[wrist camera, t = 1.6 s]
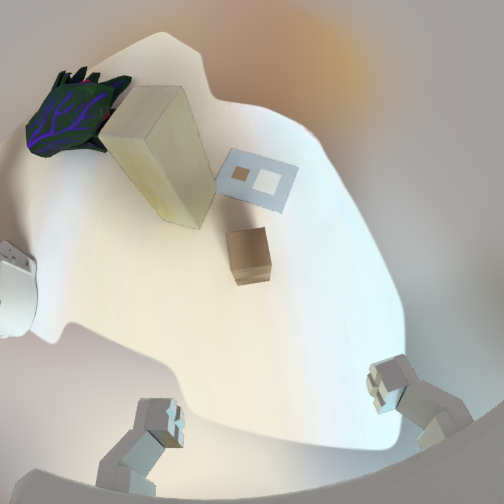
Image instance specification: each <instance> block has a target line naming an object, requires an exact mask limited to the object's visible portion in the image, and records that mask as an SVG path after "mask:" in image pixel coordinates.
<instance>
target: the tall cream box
mask: <svg viewBox="0 0 504 504" xmlns="http://www.w3.org/2000/svg"><path fill="white" fill-rule="evenodd" d="M98 137H99V139H100V140H101V142H102V143H103V144H104V146H105V147H106V148H107V150H108V151H109V152H110V154H111V155H112V156H113V158H114V159H115V160H116V162H117V163H118V164H119V165H120V167H121V168H122V169H123V171H124V172H125V173H126V174H127V176H128V177H129V178H130V179H131V181H132V182H133V183H134V184H135V186H136V187H137V188H138V189H139V191H140V192H141V193H142V194H143V196H144V197H145V198H146V199H147V201H148V202H149V203H150V204H151V206H152V207H153V208H154V209H155V210H156V212H157V213H158V214H159V215H160V217H161V218H162V219H163V220H165V221H168V222H171V223H175V224H179V225H182V226H186V227H190V228H194V229H198V230H199V229H200V228H201V225H202V223H203V221H204V218H205V216H206V213H207V211H208V209H209V206H210V204H211V201H212V199H213V197H214V194H215V192H216V189H217V185H216V183H215V180H214V177H213V174H212V171H211V168H210V165H209V162H208V160H207V157H206V154H205V151H204V148H203V145H202V142H201V139H200V136H199V133H198V130H197V127H196V124H195V121H194V118H193V115H192V112H191V109H190V106H189V103H188V100H187V97H186V94H185V91H184V89H183V88H182V87H181V86H138V87H134V88H133V89H132V90H131V92H130V93H129V94H128V95H127V97H126V98H125V99H124V100H123V102H122V103H121V104H120V105H119V107H118V108H117V109H116V111H115V112H114V113H113V115H112V116H111V117H110V119H109V120H108V122H107V123H106V124H105V126H104V127H103V129H102V130H101V131H100V133H99V135H98Z"/></svg>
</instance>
